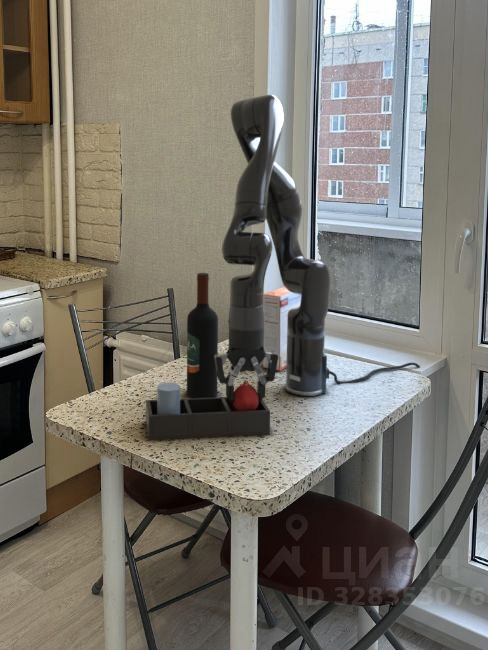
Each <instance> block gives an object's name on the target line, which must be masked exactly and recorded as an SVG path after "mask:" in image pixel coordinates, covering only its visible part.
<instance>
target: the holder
mask: <svg viewBox="0 0 488 650" xmlns="http://www.w3.org/2000/svg"><path fill="white" fill-rule="evenodd" d="M145 426H146V432H147V437H148V441H158V440H177V439H178V440H181V439H201V438H202V439H203V438H220V437H222V438H223V437H241V436H263V435H264V436H265V435H270V434H271V432H270V431H271V410H270V409H269V407H268V406H267V404H266V403H265V401H264V399H263V400H262V401H259V404H258V406H257V408H256V410H254V411H237V410H236V409H235V407H234V405H233V402H230V401H229V400H228V399H227V396H216V397H211V398H190V397H186V398H185V397H184V398H180V414H162V415H157V399H146V400H145Z"/></svg>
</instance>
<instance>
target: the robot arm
mask: <svg viewBox="0 0 488 650" xmlns="http://www.w3.org/2000/svg"><path fill="white" fill-rule="evenodd" d="M230 121H231V126H232V128H233V131H234V134H235V137H236V139H237V141H238V144H239V147H240V148H241V151H242V153H243V157H244V158H245V160H246V162H247V165H246V167H245V169H244V170H243V172H242V173H241V175H240V177H239V180H238V182H237V186H236V189H235V190H236V192H235V198H234V199H235V201H234V209H233V210H234V211H233V215H232V218H231V221H230V223H229V227H228V229H227V231H226V234H225V236H224V237H223V241H222V244H221V255H222V257H223V259H224V262H226V263H227V264H229V265H235V266H254V267H253V270H252V272H249V273H245V274H239V275H236V276H233V277H232V278H231V280H230V289H229V290H230V293H229V297H230V298H229V301H230V303H229V312H228V321H227V322H228V348H227V351H226V353H221V354H219V352H218V353H216V354H215V355H214V359H215V365H216V371H217V380H218V382H219V383H220V384H224V385H225V397H227V399H228V400H229V401H230V402H234V391H235V385H234V383H235V381H236V379H237V378H238V376H239V374H240V373H245V372H254V373H255V374H256V377H257V379H258V380H257V381H256V391H257V393H258V396H259V401H262V400H263V401H264V399H265V398H266V385H267V383H269V382H274V380H275V378H276V372H277V370H276V367H277V361H278V355H277V354H276V353H275V352H274V351H272V352H265V350H264V310H263V294H264V284H265V277H266V273H267V270H268V265H269V262H270V261H271V260H270V259H271V256H272V254H273V247H274V251H275V255H276V261H277V266H278V271H279V276H280V279H281V282H282V284H283V287H284V286H285V288H286V289H287V290H288V291H290V292H292V293H295V294H299V295H301V303H300V307H297V308H293V309H291V310H289V312H288V316H287V364H286V368H285V370H286V371H285V390H286V391H287V392H289V393H290V394H292V395H296V396H301V397H314V396H316V397H317V396H320V395H322V394H327V379H330V375H331V376H333V381H334V383H336V384H340V385H341V384H353V383H358V382H361V381H364V380H367V379H369V378H370V377H371V376H372V375H373V374H375V373H378V372H383V371H391V370H399V369H403V368H406V367H409V366H415V367H417V368H418V369H419V368H421V366H420V365H419V364H418V363H416V362H407V363H405V364H401V365H397V366H386V367H381V368H376V369H373V370H371V371H370V372H368V374H367V375H365V376H362V377H358V378H355V379H351V380H347V381H341V380H338V376H337V374H336V373H335V372H333V371H331V370H330V368H329V367H328V366H327V365H328V356H327V355H326V354H325V339H326V337H325V335H326V317H327V315H328V312H329V306H330V295H331V294H330V293H331V272H330V268H329V267H328V265H327V264H326V263H325V262H324V261H321V260H316V259H312V258H306V257H305V255H304V253H303V251H302V249H301V245H300V242H299V236H298V235H299V229H300V225H301V222H302V218H303V205H302V201H301V197H300V194H299V190H298V188H297V185H296V182H295V181H294V179H293V178H292V177H291V176H290V175H289V174H288V173H287V172H286V171H285V170H284V169H283V168H282V167H281V166H280V165H279V164H278V163H277V162H275V161H276V157H277V153H278V150H279V144H280V141H281V137H282V133H283V128H284V110H283V106H282V103H281V101H280V99H278V98H277V96H276V95H273V94H264V95H260V96H255V97H251V98H246V99H241V100H238V101H236V102H234V103H233V104H232V106H231V109H230ZM265 221H266V224H267V226H268V230H269V233H270V236H269V235H268V234H267V233H265V232H253V231H252V232H250V231H248V232H247V231H245V230H246V229H247V228H249V227H253V226H257V225H262V224H263V223H264V222H265ZM270 237H271V238H270ZM265 357H266V358H267V361H268V368H266V373H265V374H264V373H263V372H264V371H263V370H262V367H261V364H262V363H263V360H264V358H265ZM227 359H228V361H229V362H230V364H231V365H230V366H229V369H228V373H227V375H225V370H224V365H225V364H226V362H227V361H226V360H227Z"/></svg>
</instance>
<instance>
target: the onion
mask: <svg viewBox="0 0 488 650" xmlns="http://www.w3.org/2000/svg"><path fill="white" fill-rule="evenodd" d="M258 404H259V396H258V393H257V389H255V388H254V386H253V385H251V384H249V381H248V380H244V381H243V382H242V383H241V384H240V385H239V386H237V387H236V388H235V389H234V402H233V405H234V407H235V409H236V410H237V411H254V410H256V408H257V406H258Z"/></svg>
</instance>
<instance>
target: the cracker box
mask: <svg viewBox="0 0 488 650" xmlns="http://www.w3.org/2000/svg"><path fill="white" fill-rule="evenodd" d="M300 303H301V295H299V294H295V293H292V292H290V291H288V290H287V289H286V288H285V286H284V285H283V286H282V287H279V288H276V289H274V290H271V291H268V292H265V293H263V310H264V350H265V352H272V351H274V352H275V353H276V354H277V355H278V361H277V367H276V372H277V371H278V372H281V371H283V370H286V364H287V316H288V312H289V310H291V309H293V308H297V307H300ZM262 368H263V369H267V368H268V361H267V358H266V357H265V358H264V360H263V361H262Z"/></svg>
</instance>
